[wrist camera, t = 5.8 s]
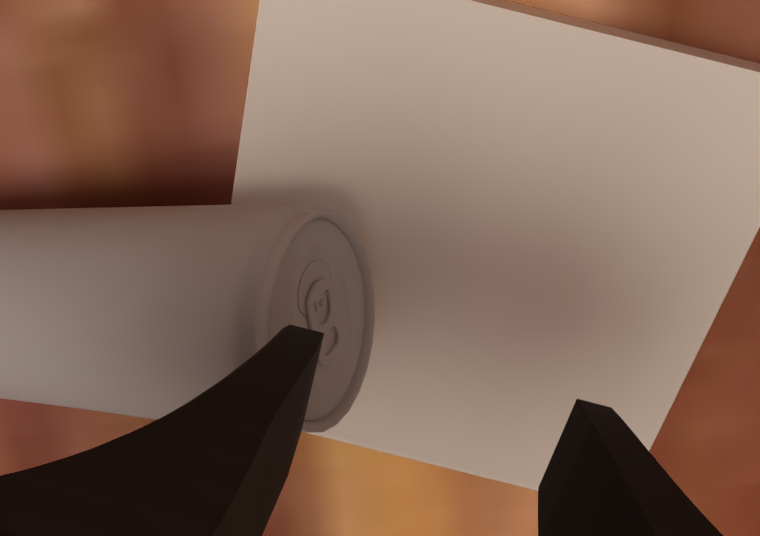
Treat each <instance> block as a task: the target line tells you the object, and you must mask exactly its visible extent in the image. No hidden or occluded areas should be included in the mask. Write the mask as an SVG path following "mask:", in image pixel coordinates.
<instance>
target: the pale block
mask: <svg viewBox="0 0 760 536" xmlns="http://www.w3.org/2000/svg"><path fill="white" fill-rule="evenodd" d="M279 203H283V204H304V205H307V206H309V207H311V208H312V209H314V210H315V209H323V210H334V211H336V212H338V213H339V214H341V215H343V216H344V217H346V218H347V219H348V220H349V221H350V223H351V224H352V225H353V227H354V228H355V229H356V230H357V232H358V234H359V236H360V238H361V240H362V243H363V245H364V247H365V249H366V253H367V256H368V260H369V264H370V268H371V272H372V280H373V288H374V299H375V323H374V333H373V343H372V349H371V354H370V359H369V363H368V368H367V372H366V375H365V378H364V380H363V383H362V386H361V389H360V392H359V394H358V396H357V397H356V399H355V401H354V403H353V405H352V407H351V408H350V410H349V412H348V413H347V414H346V415H345V416H344V417H343V418H342V419H341V421H340V422H339V423H338V424H337V425H335V426H333V427H332V428H330V429H328V430H326V431H324V432H305V433H309V434H313V435H317V436H321V437H325V438H329V439H333V440H337V441H341V442H345V443H349V444H353V445H357V446H361V447H365V448H369V449H373V450H377V451H381V452H385V453H389V454H393V455H397V456H401V457H405V458H409V459H413V460H417V461H420V462H424V463H428V464H432V465H436V466H440V467H444V468H448V469H452V470H456V471H460V472H464V473H468V474H472V475H476V476H480V477H484V478H488V479H492V480H496V481H500V482H504V483H508V484H512V485H516V486H520V487H524V488H528V489H532V490H536V491H538V487H539V485H540V483H541V480H542V478H543V476H544V473H545V471H546V469H547V466H548V464H549V462H550V459H551V457H552V455H553V453H554V450H555V448H556V446H557V443H558V441H559V439H560V436H561V434H562V432H563V429H564V427H565V425H566V423H567V420H568V418H569V416H570V413H571V411H572V409H573V406H574V404H575V402H576V399H581V400H584V401H588V402H592V403H596V404H600V405H604V406H608V407H611V408H612V409H613V410H614V411H615V412H616V413H617V414H618V415H619V416H620V417H621V418H622V419H623V421H624V422H625V423H626V424H627V425H628V427H629V428H630V429H631V430H632V431H633V433H634V434H635V435H636V436H637V437H638V439H639V440H640V441H641V442H642V444H643V445H644V446H645V447H646V448H647V450H648V451H649V450H650V448H651V446H652V444H653V442H654V440H655V438H656V436H657V434H658V432H659V430H660V428H661V426H662V424H663V422H664V420H665V418H666V416H667V414H668V412H669V410H670V408H671V406H672V404H673V402H674V400H675V398H676V396H677V394H678V391H679V389H680V387H681V385H682V383H683V381H684V379H685V377H686V375H687V373H688V371H689V369H690V367H691V365H692V363H693V361H694V359H695V357H696V355H697V353H698V351H699V349H700V347H701V345H702V343H703V341H704V339H705V337H706V335H707V333H708V331H709V329H710V327H711V325H712V322H713V320H714V318H715V316H716V314H717V312H718V310H719V308H720V306H721V304H722V302H723V300H724V298H725V296H726V294H727V292H728V290H729V288H730V286H731V284H732V282H733V280H734V278H735V276H736V274H737V272H738V270H739V268H740V266H741V264H742V262H743V260H744V258H745V256H746V253H747V251H748V249H749V247H750V245H751V243H752V241H753V239H754V237H755V235H756V233H757V231H758V229H759V227H760V64H759V63H755V62H751V61H747V60H743V59H739V58H735V57H731V56H727V55H723V54H719V53H715V52H711V51H707V50H703V49H699V48H695V47H691V46H687V45H683V44H679V43H675V42H671V41H667V40H663V39H659V38H655V37H651V36H647V35H643V34H639V33H635V32H631V31H627V30H623V29H619V28H615V27H611V26H607V25H603V24H599V23H595V22H591V21H587V20H583V19H579V18H575V17H571V16H567V15H563V14H559V13H555V12H551V11H547V10H543V9H539V8H535V7H531V6H527V5H523V4H519V3H515V2H510V1H506V0H260V2H259V9H258V17H257V24H256V31H255V38H254V45H253V52H252V59H251V66H250V73H249V80H248V87H247V94H246V101H245V108H244V115H243V122H242V129H241V136H240V144H239V151H238V158H237V165H236V172H235V179H234V186H233V193H232V200H231V205H236V204H279ZM301 432H302V431H301Z"/></svg>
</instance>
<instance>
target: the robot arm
mask: <svg viewBox="0 0 760 536" xmlns="http://www.w3.org/2000/svg"><path fill="white" fill-rule="evenodd" d="M323 337H324V333H322V332H318V331H314V330H310V329H306V328H302V327H298V326H295V325H291V324H290V325H288V326H286V327H284V328H282V329H281V330H280V331H279V333H278V334H277V335H275V336H274V337H273V338H272V339H271V340H270V341H269V342H268V343H267V344H266V345H265V346H264V347H262V348H261V349H260V350H259V351H258V352H257V353H255V354H254V355H253V356H252V357H251V358H249V359H248V360H247V361H246V362H244V363H243V364H242V365H240V366H239V367H238V368H237V369H235V370H234V371H233V372H231V373H230V374H229V375H227V376H226V377H225V378H223V379H222V380H221V381H219V382H218V383H216V384H215V385H213V386H212V387H210V388H209V389H207V390H206V391H204V392H203V393H201V394H200V395H198V396H197V397H195V398H194V399H192V400H191V401H189V402H187V403H186V404H184V405H182V406H181V407H179V408H177V409H176V410H174V411H172V412H170V413H169V414H167V415H165V416H163V417H161V418H159V419H157V420H155V421H154V422H152V423H150V424H148V425H146V426H144V427H142V428H140V429H137V430H135V431H133V432H131V433H129V434H126V435H124V436H121V437H119V438H117V439H114V440H112V441H110V442H107V443H105V444H102V445H100V446H98V447H95V448H92V449H90V450H87V451H84V452H81V453H78V454H75V455H72V456H69V457H67V458H63V459H60V460H57V461H54V462H50V463H47V464H44V465H41V466H37V467H34V468H30V469H26V470H23V471H19V472H15V473H10V474H6V475H2V476H0V536H262V534H263V532H264V529H265V527H266V525H267V522H268V520H269V518H270V516H271V513H272V511H273V509H274V506H275V504H276V502H277V499H278V497H279V495H280V492H281V490H282V488H283V485H284V483H285V481H286V478H287V476H288V473H289V470H290V466H291V463H292V460H293V457H294V453H295V450H296V447H297V443H298V440H299V437H300V433H301V430H302V427H303V423H304V418H305V414H306V410H307V405H308V401H309V397H310V393H311V388H312V384H313V380H314V375H315V371H316V367H317V362H318V358H319V354H320V350H321V345H322V341H323ZM538 536H723V535H722V534H721V533H720V532H719V531H718V530H717V529H716V528H715V527H714V526H713V525H712V524H711V522H710V521H709V520H708V519H707V518H706V517H705V516H704V515H703V514H702V513H701V512H700V511H699V510H698V508H697V507H696V506H695V505H694V504H693V503H692V502H691V501H690V499H689V498H688V497H687V496H686V495H685V494H684V493H683V491H682V490H681V489H680V488H679V487H678V486H677V484H676V483H675V482H674V481H673V480H672V479H671V477H670V476H669V475H668V474H667V473H666V471H665V470H664V469H663V468H662V467H661V465H660V464H659V463H658V462H657V461H656V459H655V458H654V457H653V456H652V455H651V453H650V452H649V451H648V450H647V448H646V447H645V446H644V445H643V444H642V442H641V441H640V440H639V439H638V437H637V436H636V435H635V434H634V433H633V431H632V430H631V429H630V428H629V427H628V425H627V424H626V423H625V422H624V421H623V419H622V418H621V417H620V416H619V415H618V414H617V413H616V412H615V411H614V410H613V409H612V408H611V407H608V406H604V405H600V404H596V403H592V402H588V401H584V400H581V399H576V402H575V404H574V406H573V409H572V411H571V413H570V416H569V418H568V420H567V423H566V425H565V427H564V429H563V432H562V434H561V436H560V439H559V441H558V443H557V446H556V448H555V450H554V453H553V455H552V457H551V459H550V462H549V464H548V466H547V469H546V471H545V473H544V476H543V478H542V480H541V483H540V485H539V487H538Z"/></svg>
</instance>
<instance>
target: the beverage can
mask: <svg viewBox="0 0 760 536" xmlns="http://www.w3.org/2000/svg"><path fill="white" fill-rule="evenodd" d="M374 323H375V299H374V288H373V280H372V272H371V268H370V264H369V260H368V256H367V253H366V249H365V247H364V245H363V243H362V240H361V238H360V236H359V234H358V232H357V230H356V229H355V228H354V227H353V225H352V224H351V223H350V221H349V220H348V219H347V218H346V217H344V216H343V215H341V214H339V213H338V212H336V211H334V210H323V209H315V210H314V209H312V208H311V207H309V206H307V205H304V204H283V203H279V204H236V205H193V206H150V207H107V208H64V209H21V210H0V398H3V399H10V400H18V401H26V402H34V403H41V404H49V405H56V406H64V407H71V408H79V409H86V410H93V411H100V412H107V413H114V414H121V415H128V416H135V417H142V418H149V419H156V420H157V419H159V418H161V417H163V416H165V415H167V414H169V413H170V412H172V411H174V410H176V409H177V408H179V407H181V406H182V405H184V404H186V403H187V402H189V401H191V400H192V399H194V398H195V397H197V396H198V395H200V394H201V393H203V392H204V391H206V390H207V389H209V388H210V387H212V386H213V385H215V384H216V383H218V382H219V381H221V380H222V379H223V378H225V377H226V376H227V375H229V374H230V373H231V372H233V371H234V370H235V369H237V368H238V367H239V366H240V365H242V364H243V363H244V362H246V361H247V360H248V359H249V358H251V357H252V356H253V355H254V354H255V353H257V352H258V351H259V350H260V349H261V348H262V347H264V346H265V345H266V344H267V343H268V342H269V341H270V340H271V339H272V338H273V337H274V336H275V335H277V334H278V333H279V331H280V330H281V329H282V328H284V327H286V326H288V325H290V324H291V325H295V326H298V327H302V328H306V329H310V330H314V331H318V332H322V333H324V337H323V341H322V345H321V350H320V354H319V358H318V362H317V367H316V371H315V375H314V380H313V384H312V388H311V393H310V397H309V401H308V405H307V410H306V414H305V418H304V423H303V427H302V430H301V431H302V432H324V431H326V430H328V429H330V428H332V427H333V426H335V425H337V424H338V423H339V422H340V421H341V419H342V418H343V417H344V416H345V415H346V414H347V413H348V412H349V410H350V408H351V407H352V405H353V403H354V401H355V399H356V397H357V396H358V394H359V392H360V389H361V386H362V383H363V380H364V378H365V375H366V372H367V368H368V363H369V359H370V354H371V349H372V343H373V333H374Z"/></svg>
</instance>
